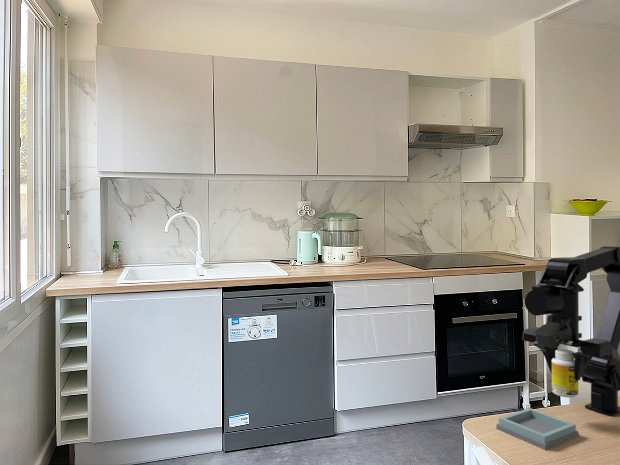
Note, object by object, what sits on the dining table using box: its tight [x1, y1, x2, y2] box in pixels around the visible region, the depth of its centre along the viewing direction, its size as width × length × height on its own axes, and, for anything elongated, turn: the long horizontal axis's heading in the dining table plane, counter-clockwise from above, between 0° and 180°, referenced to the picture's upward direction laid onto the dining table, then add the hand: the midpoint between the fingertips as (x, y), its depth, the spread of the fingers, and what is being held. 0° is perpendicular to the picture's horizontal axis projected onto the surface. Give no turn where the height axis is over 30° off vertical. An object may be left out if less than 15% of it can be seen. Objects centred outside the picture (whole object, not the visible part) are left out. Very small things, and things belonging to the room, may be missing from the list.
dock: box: [495, 407, 579, 451], centre depth 105 cm, size 12×12×2 cm
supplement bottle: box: [551, 348, 579, 399], centre depth 111 cm, size 6×6×10 cm
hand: (564, 377), depth 111 cm, fingers closed on supplement bottle, 5 cm apart
